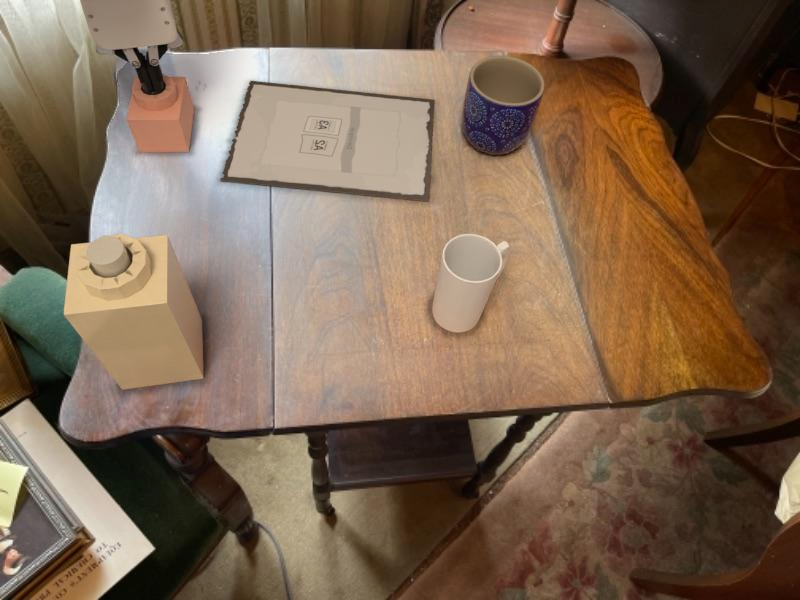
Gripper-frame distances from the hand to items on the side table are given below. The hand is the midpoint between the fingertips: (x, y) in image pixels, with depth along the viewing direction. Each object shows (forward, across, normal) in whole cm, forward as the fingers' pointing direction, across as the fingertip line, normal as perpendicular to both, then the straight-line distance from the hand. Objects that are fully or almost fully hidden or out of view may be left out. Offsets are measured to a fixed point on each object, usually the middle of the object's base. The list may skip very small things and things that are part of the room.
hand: (153, 84), depth 84 cm
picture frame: (+8, -24, +7) cm, 26 cm away
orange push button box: (+8, 0, 0) cm, 8 cm away
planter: (+8, -48, +11) cm, 50 cm away
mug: (+8, -34, +40) cm, 53 cm away
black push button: (+2, 0, 0) cm, 2 cm away
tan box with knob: (+8, +4, +38) cm, 39 cm away
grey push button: (-10, +4, +38) cm, 39 cm away
